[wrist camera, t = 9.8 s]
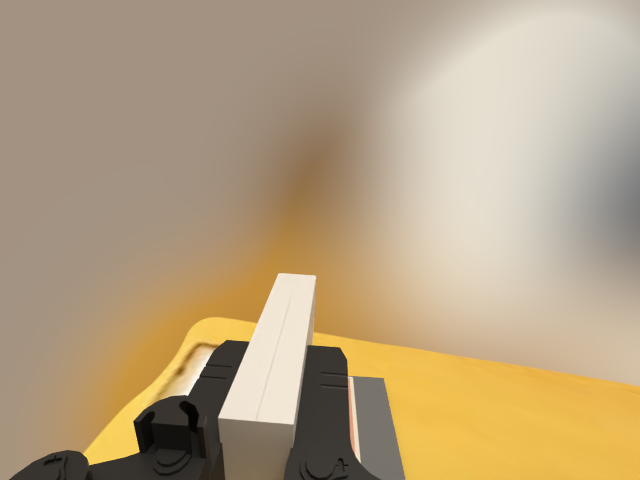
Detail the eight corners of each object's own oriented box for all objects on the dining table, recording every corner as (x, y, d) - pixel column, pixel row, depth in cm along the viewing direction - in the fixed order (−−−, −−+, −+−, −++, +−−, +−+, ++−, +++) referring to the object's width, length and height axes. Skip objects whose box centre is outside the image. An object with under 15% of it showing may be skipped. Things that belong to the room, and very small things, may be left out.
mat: (383, 381, 45) (383, 378, 45) (445, 677, 21) (446, 673, 20) (248, 372, 45) (248, 369, 45) (152, 654, 21) (151, 650, 21)
